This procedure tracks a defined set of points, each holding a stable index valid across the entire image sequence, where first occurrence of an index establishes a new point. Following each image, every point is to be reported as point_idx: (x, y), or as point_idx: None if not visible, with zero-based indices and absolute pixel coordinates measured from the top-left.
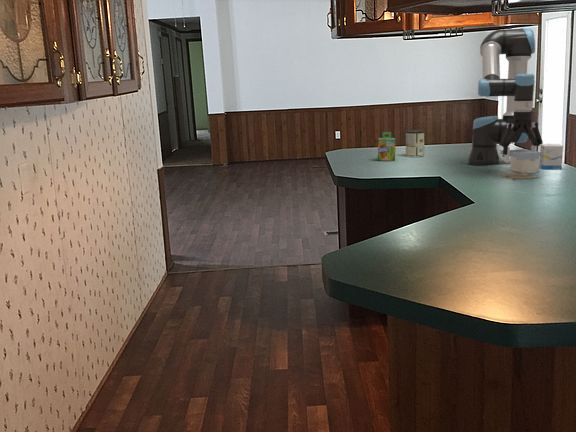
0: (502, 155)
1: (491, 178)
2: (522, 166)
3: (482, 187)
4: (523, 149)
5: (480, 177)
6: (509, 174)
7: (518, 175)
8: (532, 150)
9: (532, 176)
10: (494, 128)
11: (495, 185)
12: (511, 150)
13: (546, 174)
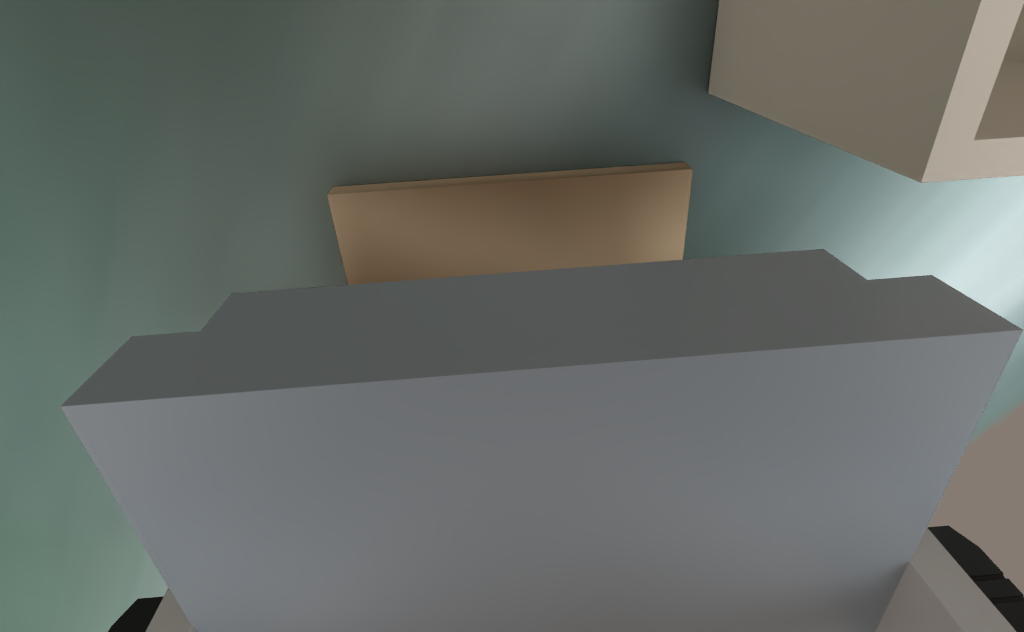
0: (221, 318)
1: (162, 281)
2: (763, 109)
3: (8, 623)
4: (911, 379)
5: (7, 171)
6: (451, 203)
7: None
8: (892, 600)
9: None
10: None
11: (135, 583)
12: (425, 487)
13: (984, 186)
